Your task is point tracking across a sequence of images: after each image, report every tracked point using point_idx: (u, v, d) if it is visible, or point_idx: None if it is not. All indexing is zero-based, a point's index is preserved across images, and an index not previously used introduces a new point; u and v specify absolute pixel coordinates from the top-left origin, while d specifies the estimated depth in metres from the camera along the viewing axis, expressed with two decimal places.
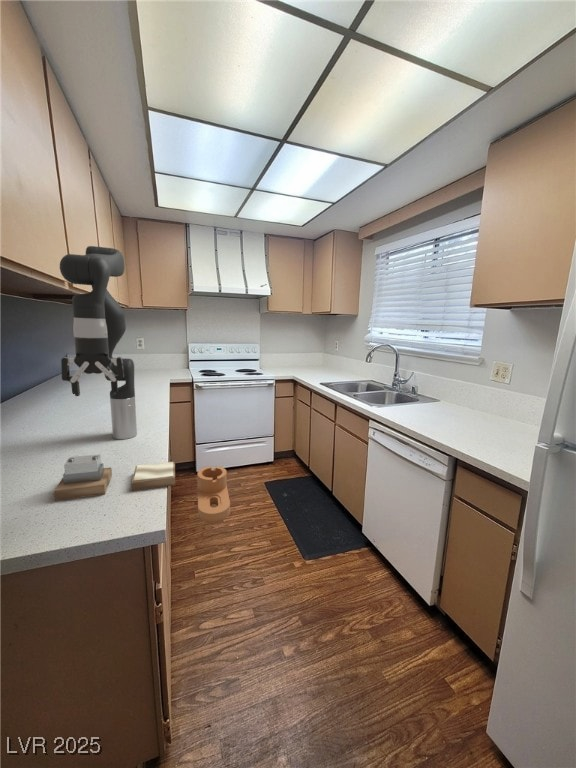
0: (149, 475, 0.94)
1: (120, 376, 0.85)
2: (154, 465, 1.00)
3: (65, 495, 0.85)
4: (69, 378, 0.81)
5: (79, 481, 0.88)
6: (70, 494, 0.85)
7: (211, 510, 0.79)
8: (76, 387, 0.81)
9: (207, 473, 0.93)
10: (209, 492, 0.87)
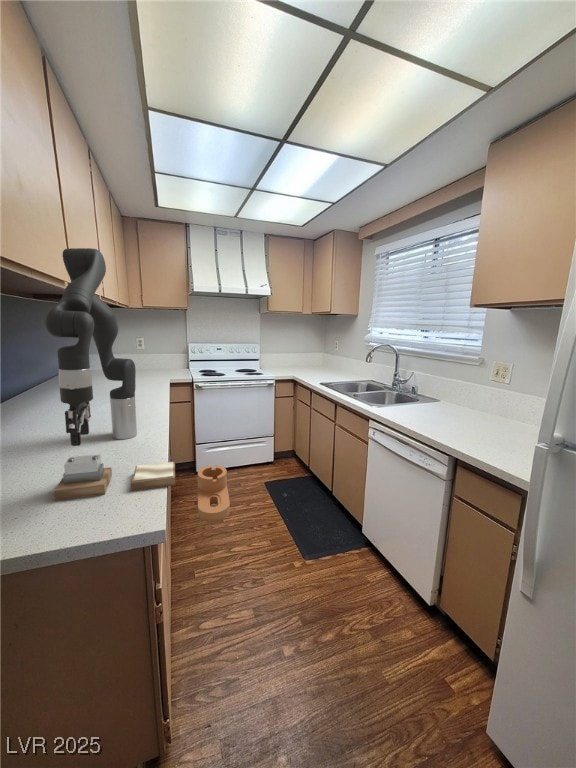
0: (149, 475, 0.94)
1: (90, 415, 0.93)
2: (154, 465, 1.00)
3: (65, 495, 0.85)
4: None
5: (79, 481, 0.88)
6: (70, 494, 0.85)
7: (210, 509, 0.79)
8: (80, 436, 0.84)
9: (208, 473, 0.93)
10: (209, 491, 0.87)
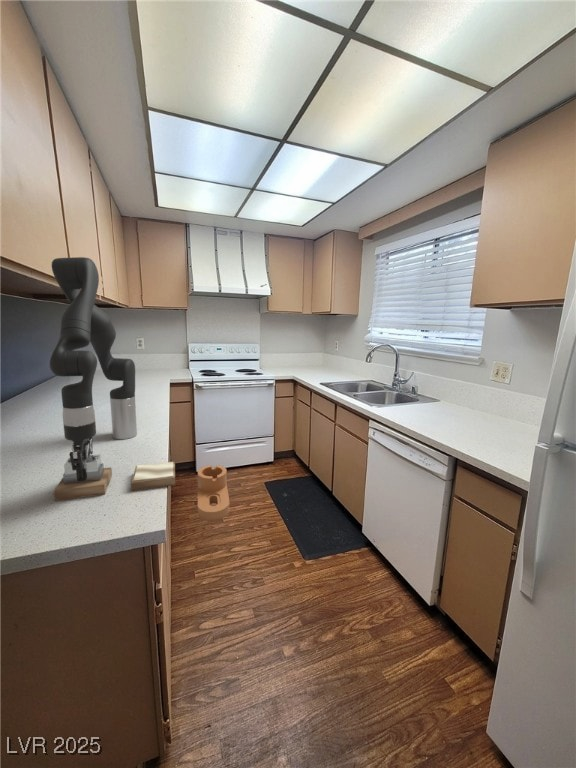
0: (149, 475, 0.94)
1: (92, 451, 0.94)
2: (154, 465, 1.00)
3: (65, 495, 0.85)
4: None
5: (79, 481, 0.88)
6: (70, 494, 0.85)
7: (210, 508, 0.80)
8: (85, 471, 0.88)
9: (208, 472, 0.93)
10: (209, 491, 0.87)
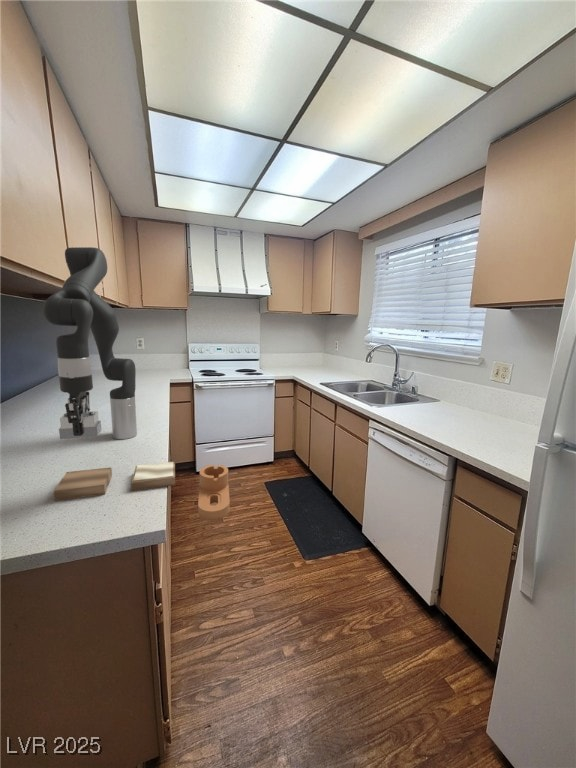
0: (149, 475, 0.94)
1: (89, 408, 0.92)
2: (154, 465, 1.00)
3: (65, 495, 0.85)
4: None
5: (76, 436, 0.85)
6: (70, 494, 0.85)
7: (210, 507, 0.80)
8: (82, 426, 0.85)
9: (210, 472, 0.94)
10: (210, 490, 0.88)
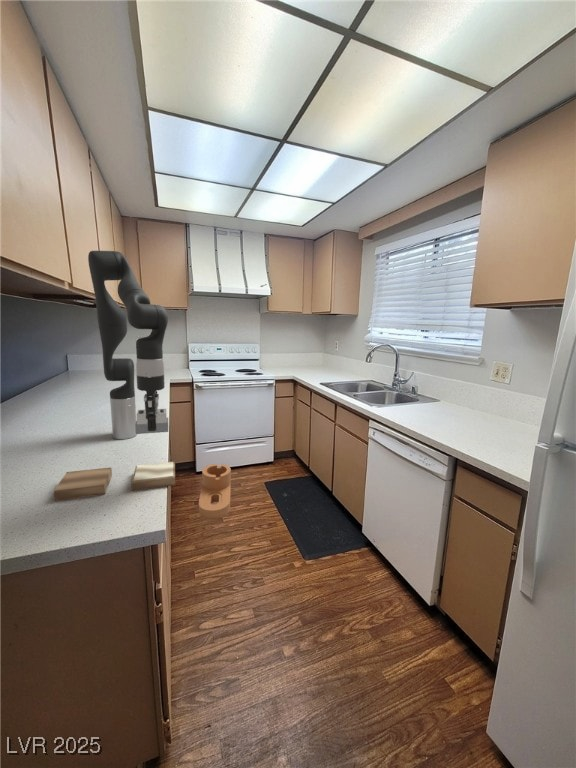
0: (149, 475, 0.94)
1: None
2: (154, 465, 1.00)
3: (65, 495, 0.85)
4: None
5: (149, 431, 0.92)
6: (70, 494, 0.85)
7: (210, 506, 0.81)
8: (155, 422, 0.92)
9: (213, 471, 0.94)
10: (212, 489, 0.88)
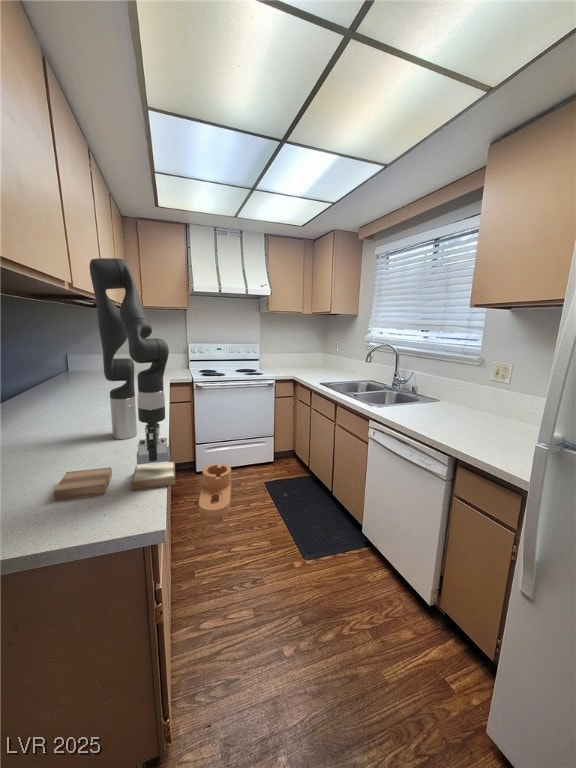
0: (149, 475, 0.94)
1: None
2: (154, 465, 1.00)
3: (65, 495, 0.85)
4: None
5: (150, 462, 0.94)
6: (70, 494, 0.85)
7: (210, 506, 0.81)
8: (156, 452, 0.93)
9: (213, 470, 0.95)
10: (212, 489, 0.88)
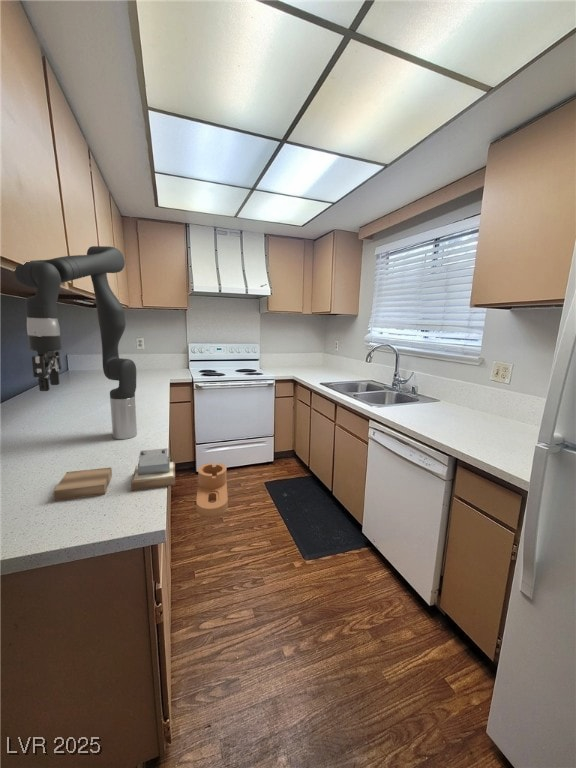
0: (149, 475, 0.94)
1: (60, 367, 0.98)
2: None
3: (65, 495, 0.85)
4: None
5: (151, 473, 0.94)
6: (70, 494, 0.85)
7: (208, 505, 0.81)
8: (48, 382, 0.89)
9: (208, 470, 0.95)
10: (208, 488, 0.89)
